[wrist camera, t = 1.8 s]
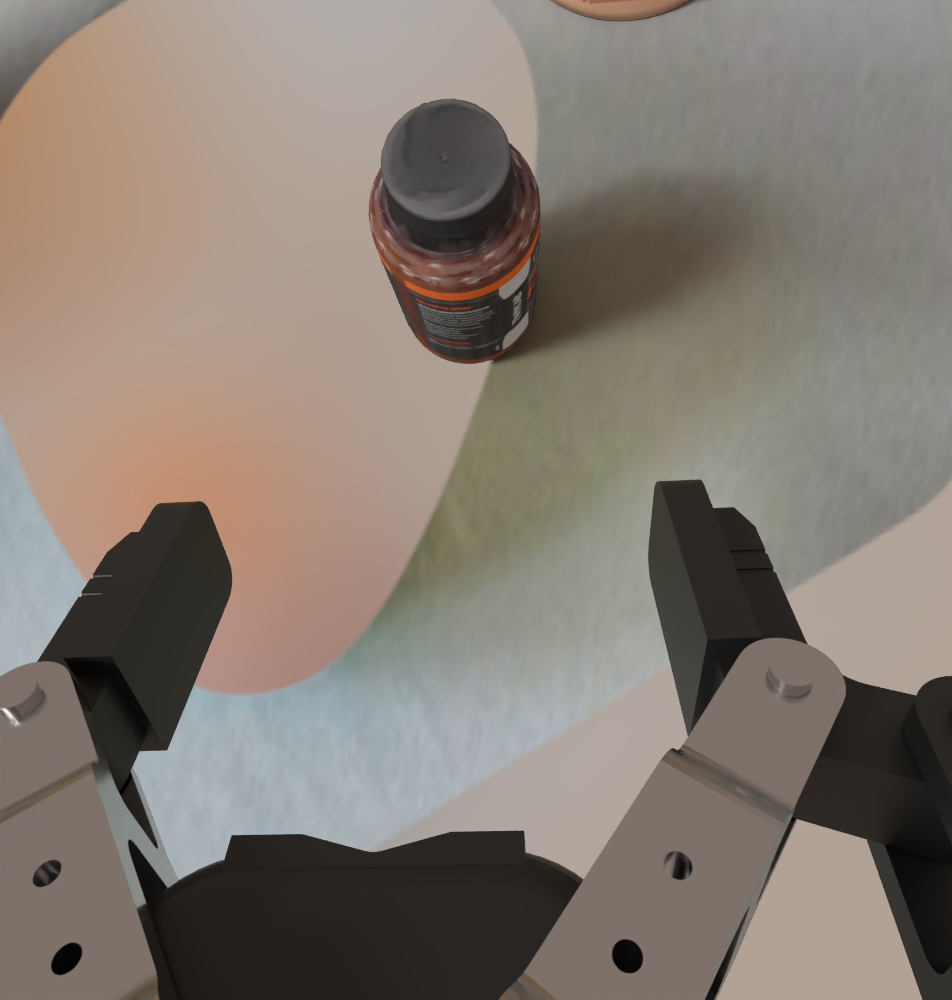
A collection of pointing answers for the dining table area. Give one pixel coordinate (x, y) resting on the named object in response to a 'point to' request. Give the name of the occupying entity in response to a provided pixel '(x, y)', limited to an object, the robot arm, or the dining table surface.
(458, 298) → the supplement bottle
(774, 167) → the dining table surface
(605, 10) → the coaster dish
